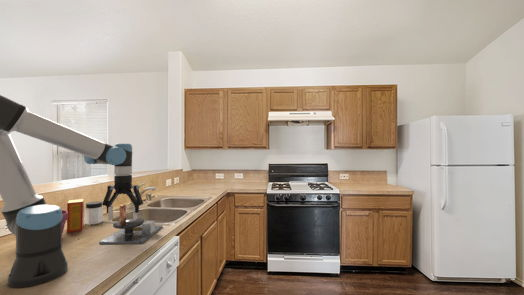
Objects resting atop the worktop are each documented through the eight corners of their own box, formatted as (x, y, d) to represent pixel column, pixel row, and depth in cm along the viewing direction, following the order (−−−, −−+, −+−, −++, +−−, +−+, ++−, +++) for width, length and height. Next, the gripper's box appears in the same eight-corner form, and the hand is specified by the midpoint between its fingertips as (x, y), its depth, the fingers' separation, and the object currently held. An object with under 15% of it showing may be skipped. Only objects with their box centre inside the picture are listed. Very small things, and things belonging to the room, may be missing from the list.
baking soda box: (69, 227, 134) (69, 199, 134) (83, 225, 137) (83, 198, 138) (66, 232, 126) (67, 202, 126) (82, 230, 130) (82, 201, 130)
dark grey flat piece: (142, 243, 111) (143, 229, 111) (99, 244, 111) (99, 230, 111) (162, 227, 135) (162, 215, 135) (126, 227, 135) (126, 215, 135)
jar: (84, 225, 138) (84, 204, 138) (85, 222, 145) (85, 202, 145) (102, 223, 143) (103, 203, 143) (102, 219, 150) (103, 200, 150)
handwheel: (142, 237, 116) (143, 205, 116) (106, 237, 115) (106, 205, 116) (154, 227, 130) (155, 199, 131) (122, 227, 130) (122, 199, 130)
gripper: (150, 174, 122) (150, 217, 121) (103, 174, 121) (103, 217, 120) (144, 175, 114) (143, 221, 114) (93, 175, 113) (93, 222, 113)
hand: (122, 219), depth 117 cm, fingers open, 11 cm apart
